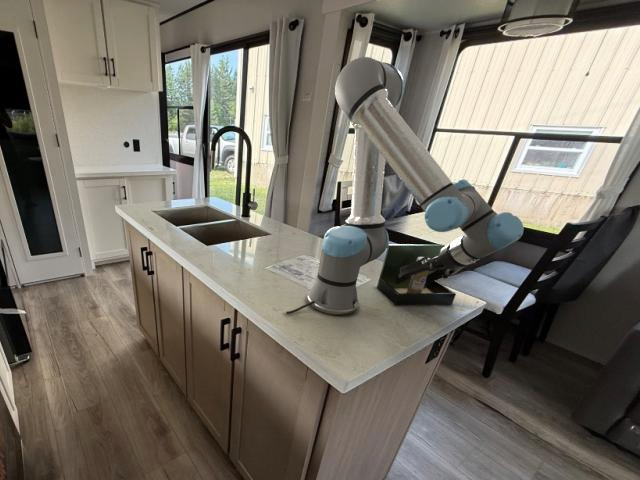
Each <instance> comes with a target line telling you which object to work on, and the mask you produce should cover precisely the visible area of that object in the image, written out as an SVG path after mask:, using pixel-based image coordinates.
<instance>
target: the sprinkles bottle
mask: <svg viewBox="0 0 640 480" xmlns="http://www.w3.org/2000/svg"><path fill="white" fill-rule="evenodd" d="M422 258H424V257H418V258H417V260H416V261H418V260H420V259H422ZM428 259H430V258H428ZM430 265H431V266H432V264H430ZM428 272H429V271H425V272H422V273H418V274H415V275H412V276H411V279H410V283H409V286H408V289H407V290H406V292H405V293H423V292H422V291H423V290H424V288H423V287H424V284H425V282H426V278H427V275H428Z"/></svg>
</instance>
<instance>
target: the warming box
mask: <svg viewBox="0 0 640 480" xmlns="http://www.w3.org/2000/svg"><path fill="white" fill-rule="evenodd" d="M445 246H446V245H445V244H409V243H408V244H407V243H406V244H404V243H403V244H402V243H401V244H400V243H399V244H397V243H394V244H393V243H392V244H391V243H390V244H389V243H388V246H387V248H386V251H385V255H384V259H383V263H382V267H381V270H380V274H379V278H378V281H377V284H376V289H377V290H378V291H379V292H380V293H381V294H382V295H383V296H384V297H385V298H387V300H388V301H390V302H391V304H393V305H394V306H395V307H397V306H398V307H399V306H400V307H406V306H449V305H450V306H451V305H453V304H454V303H453V302H454V300H455V298H456V295H457V293H456V292H455V291H452V290H451V289H449V288H448V287H447V286H445V285H443V283H441V282H439V281H438V280H435V281H433V282H431V283H429V284H427V282H425V284H424V287H423V289H427V290H429V292H421V293H406V292H405V293H400V292H398V290H399V289H401V290H402V289H404V290H406V289H408V286H409V283H410V279H411V276H410V278H408V279H406V280H404V281H403V282H401V283H399V284H396V281H395V276H396V275H398V274H399V273H400V268H402V267H404V266H407V265H409V264H411V263H414V262H416V260H417V258H418V257H428V258H430V259H432V258H434V257H435V256H438V255H439V253H440V251H441V249H442V248H444V247H445ZM431 268H433V267H432V266H431ZM434 271H436V270H434ZM434 271H429V272H428V274H430V273H432V272H434Z"/></svg>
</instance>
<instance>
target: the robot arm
mask: <svg viewBox="0 0 640 480" xmlns="http://www.w3.org/2000/svg"><path fill="white" fill-rule="evenodd" d="M404 91H405V81H404V76H403V75H402V73H401V71H400V70H399V69H398V68H396V67H395V66H394V65H393V64H391V63H389V62H385V61H384V62H383V61H380V60H377V59H375V58H373V57H370V56H361V57H357V58H354V59H352V60H351V61H349V62H347V64H345V66H344V67H343V68H342V69H341V71H340V72H339V74H338V76H337V78H336V82H335V86H334V96H335V99H336V102H337V104H338V107H339V108H340V109H341V111H342V112H343V113H344V115H345V116H346V117H347V118H348V120H349V121H350V122H349V124H350V125H351V127H353V128H354V147H353V148H354V150H353V164H352V165H353V167H352V183H351V185H352V186H351V203H350V215H349V216H348V217H347V218H346V219H345V221H344V222H345V223H344V225H342V226H339V225H338V226H337V225H336V226H333V227H331V228H329V229H328V230H327V231H325V234H324V236H323V240H322V242H321V252H320V257H319V262H318V269H317V275H316V278H315V279H314V282H313V283H312V286H311V287H310V289H309V290H308V293H307V299H306V300H307V303H305V304H303V305H301V306H299V307H298V308H295V309H292V310H288V311H285V314H286V315H290V314H293V313H294V314H295V313H297V312H298V311H301V310H302V309H305V308H307V307H309V306H310V307H311V308H313V309H314V310H316V311H318V312H320V313H323V314H326V315H330V316H332V315H333V316H347V315H351V314H353V313H355V312H356V310H357V309H358V306H359V305H360V302H359V299H358V291H357V282H358V278H359V273H360V269H361V267H363V266H365V265H366V264H368V263H370V262H373V261H375V260H377V259H378V258H379V257H381V256H382V255H383V254H384V253H385V252H386V251H387V248H388V244H389V241H390V238H389V237H390V236H389V233H388V230H387V229H386V219H385V218H384V217H383V216H382V214H381V212H382V199H383V189H384V179H385V178H384V177H385V165H386V162H387V164H388V165H389V166H390V168H391V169H392V170H393V172H394V173H395V175H397V177H398V178H399V180H400V181H401V182H402V184H403V185H404V186H405V188H406V189H407V190H408V192H410V194H411V195H412V197H413V198H414V199H415V201H416V202H417V204H418V205H419V207H421V209H422V210H423V212H424V222H425V224H426V225H427V227H428V228H429V229H431V230H432V231H434V232H437V233H447V232H451V231H453V230H457V229H460V230H461V231H462V232H463V233H464V234H463V235H461V236H460V237H458V238H456V239H455V240H453V241H452V242H450V243H448V244H447V245H445V247H444V248H442V249H441V251H440V253H439V255H438V256H435V257H434V258H432V259H428V257H424V258H422V259H420V260H418V261H416V262H414V263H411V264H409V265H407V266H404V267H402V268H400V273H399V274H398V275H396V276H395V281H396V284H399V283H401V282H403V281H404V280H406V279H408V278H410V276H412V275H415V274H418V273H422V272H425V271H434V270H436V271H434V272H432V273H430V274H428V275H427V278H426V282H427V284H429V283H431V282H433V281H435V280H436V281H438V280H439V279H441V278H443V279H444V280H445V279H448V278H449V276H450V277H453V276H454V275H456V274H457V273H458V272H460V271H461V270H462V269H464V268H465V267H468V266H469V265H474V264H476V262H478V261H480V260H481V259H484V258H485V257H487V256H490V255H492V254H494V253H496V252H498V251H501V250H503V249H505V248H507V247H508V246H510V245H511V244H514V243H515V242H518V240H520V239H521V238H522V236H523V234H524V224H523V222H522V220H521V219H520V218H519V217H518V216H517V215H514V214H513V213H512V212H509V211H502V212H499V213H497V212H496V211H495V210H494V209H493V208H492V207H491V206H490V204H489V203H487V201H486V200H485V199H484V197H482V195H481V194H480V193H479V192H478V191H477V190H476V187H475V186H474V185H472V184H471V183H470V182H469V181H468V180H467V179H464V178H463V179H459V180H458V181H456V182H454V183H453V181H452V180H451V178H450V177H449V176H448V175H447V174H446V172H445V171H444V170H443V168H442V167H441V166H440V165H439V163H438V162H437V161H436V160H435V158H434V157H433V156H432V155H431V153H430V152H429V151H428V149H427V148H426V147H425V145H424V144H423V143H422V142H421V140H420V139H419V137H418V136H417V134H415V133H414V131H413V130H412V129H411V128H410V126H409V125H408V124H407V122H406V121H405V120H404V118H403V117H402V116H401V115H400V113H399V112H398V110H397V106H398V105H399V104H400V102H401V100H402V98H403V96H404ZM430 264H432V267H433V268H431V265H430ZM448 275H449V276H448Z"/></svg>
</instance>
